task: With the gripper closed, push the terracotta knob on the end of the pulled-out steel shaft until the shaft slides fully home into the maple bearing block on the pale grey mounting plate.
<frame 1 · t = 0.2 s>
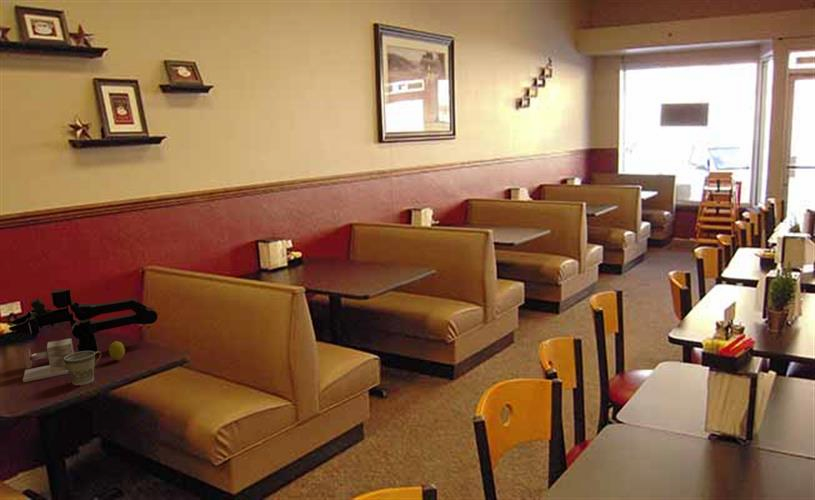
hand: (9, 325, 250), 17 cm above the table, tool horizontal, fingers open, 9 cm apart
lemon: (118, 361, 253), on the table
shaft: (40, 355, 243), point 7 cm above the table, slide at 6.0 cm
ceramic cup: (87, 381, 234), on the table
mounting plate: (51, 371, 245), on the table
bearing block: (63, 369, 247), resting on mounting plate
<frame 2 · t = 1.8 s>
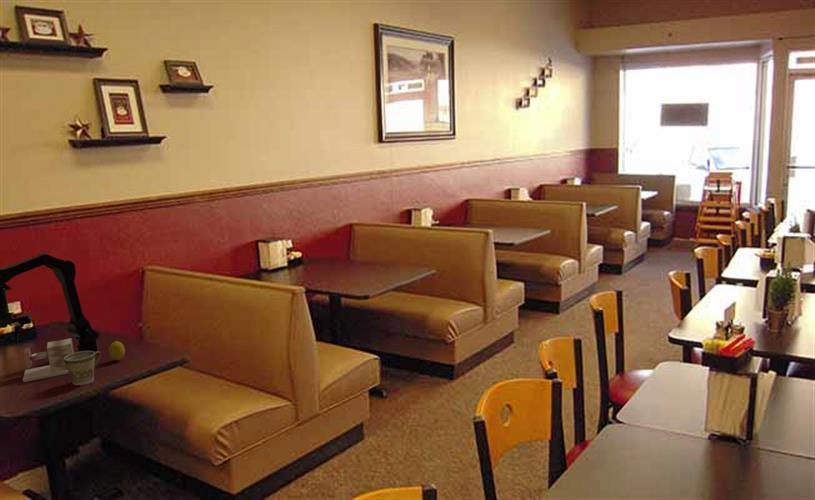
hand: (5, 345, 237), 13 cm above the table, tool pointing down, fingers open, 6 cm apart
nothing on the table moved.
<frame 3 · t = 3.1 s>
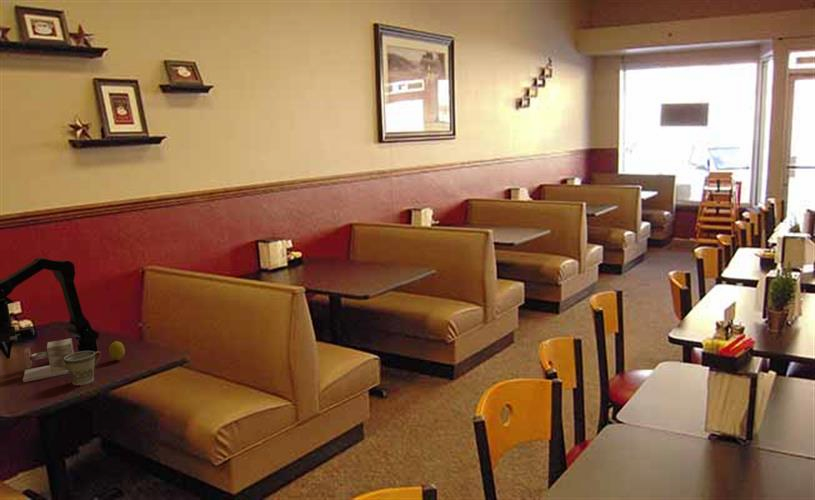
hand: (8, 358, 238), 8 cm above the table, tool pointing down, fingers closed
nothing on the table moved.
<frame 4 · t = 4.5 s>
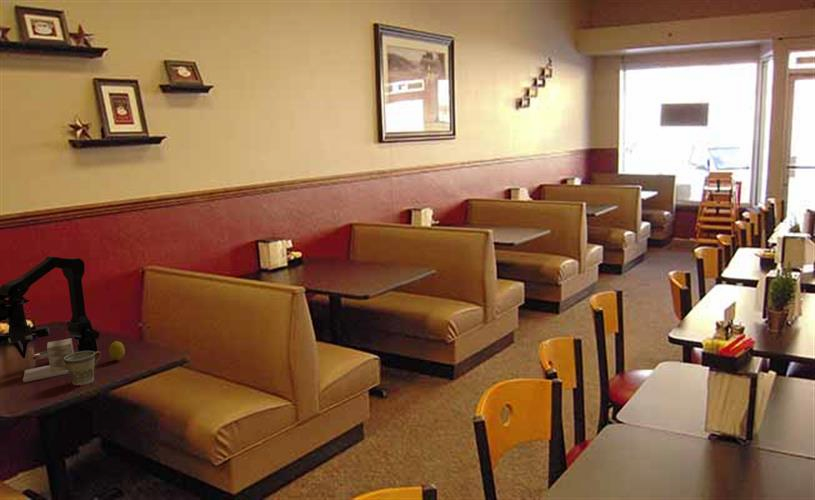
hand: (24, 357, 241), 7 cm above the table, tool pointing down, fingers closed
shaft: (43, 355, 243), point 7 cm above the table, slide at 4.9 cm, touching gripper
everything else where it was.
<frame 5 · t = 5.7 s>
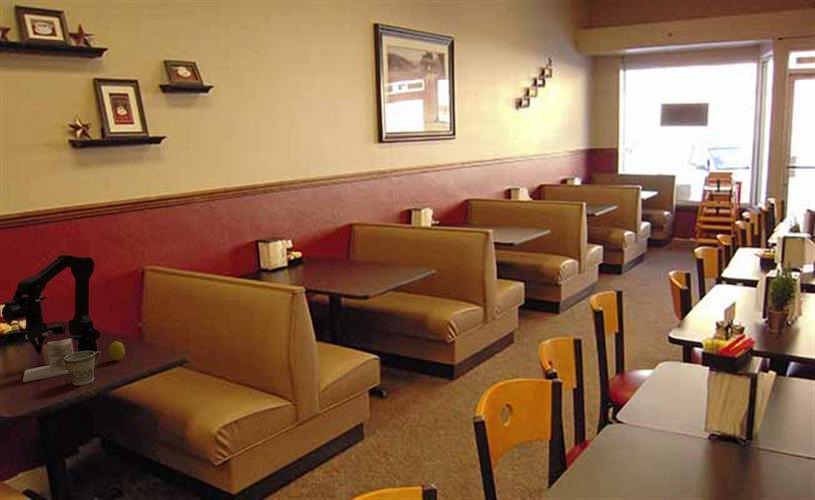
hand: (39, 354, 243), 7 cm above the table, tool pointing down, fingers closed
shaft: (58, 352, 245), point 7 cm above the table, slide at -0.1 cm, touching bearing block, gripper
everything else where it was.
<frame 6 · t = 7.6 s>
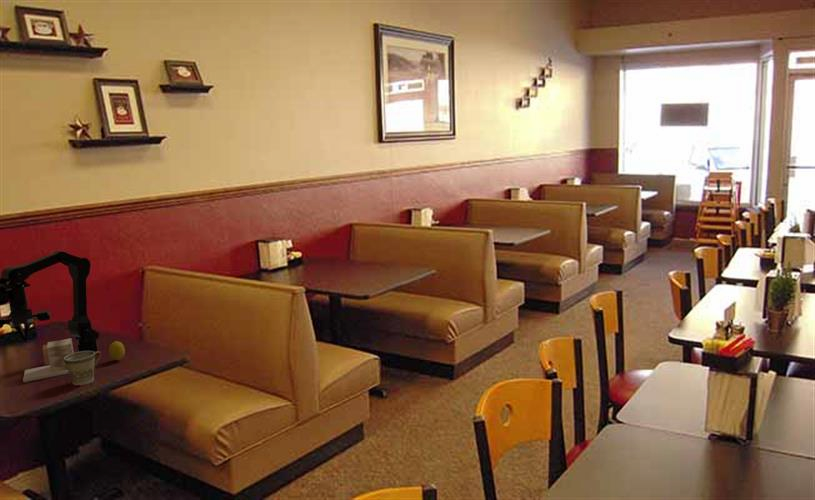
hand: (25, 341, 243), 13 cm above the table, tool pointing down, fingers closed
shaft: (58, 352, 245), point 7 cm above the table, slide at 0.0 cm
everything else where it was.
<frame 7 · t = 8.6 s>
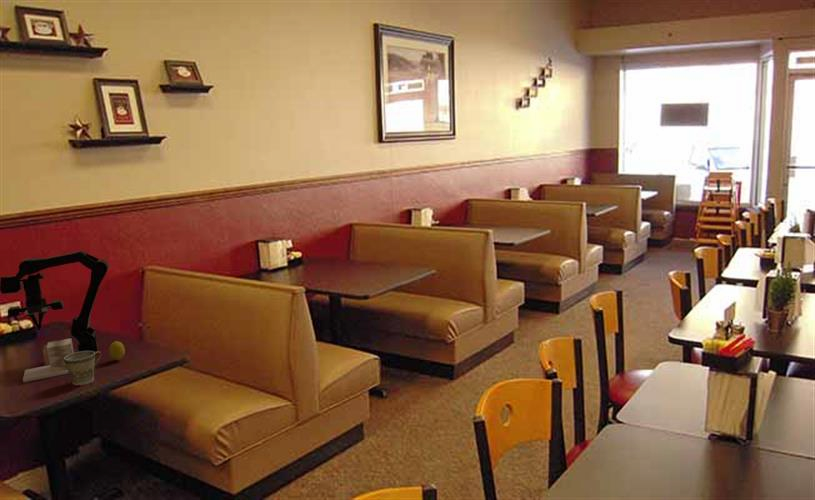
hand: (39, 329, 257), 13 cm above the table, tool pointing down, fingers closed
nothing on the table moved.
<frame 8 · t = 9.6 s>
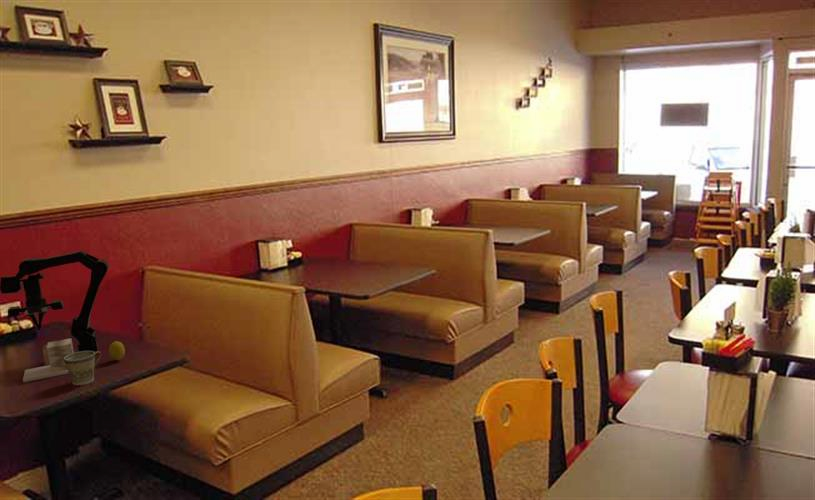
hand: (39, 329, 257), 13 cm above the table, tool pointing down, fingers closed
nothing on the table moved.
at the end: shaft slide at 0.0 cm; lemon moved 0.2 cm from its start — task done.
